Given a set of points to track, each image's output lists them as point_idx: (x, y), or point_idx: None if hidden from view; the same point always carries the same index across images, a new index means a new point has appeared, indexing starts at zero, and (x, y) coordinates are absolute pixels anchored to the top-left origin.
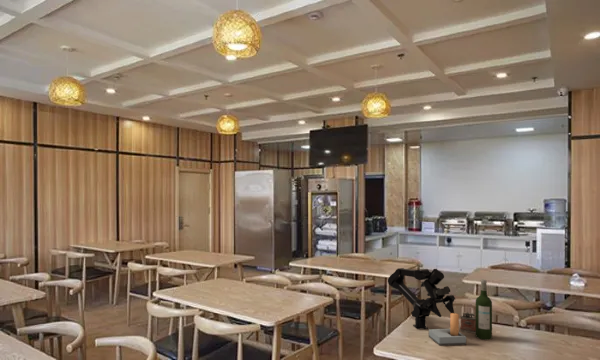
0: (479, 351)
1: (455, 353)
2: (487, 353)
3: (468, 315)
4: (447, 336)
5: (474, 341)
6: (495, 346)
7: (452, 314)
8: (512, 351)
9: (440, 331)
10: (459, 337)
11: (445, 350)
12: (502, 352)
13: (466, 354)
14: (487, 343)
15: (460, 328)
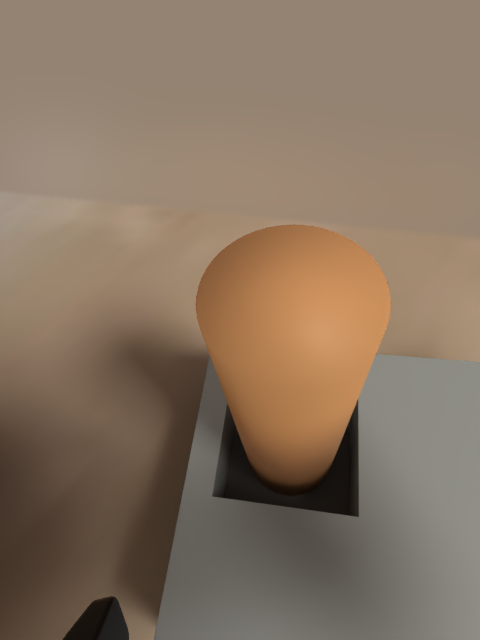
0: (217, 252)
1: (414, 246)
2: (190, 222)
3: None
4: (417, 378)
5: (92, 428)
6: (33, 306)
7: (350, 290)
8: (16, 228)
9: (437, 575)
10: None
11: (473, 300)
12: (87, 224)
13: (341, 225)
14: (31, 366)
15: None
